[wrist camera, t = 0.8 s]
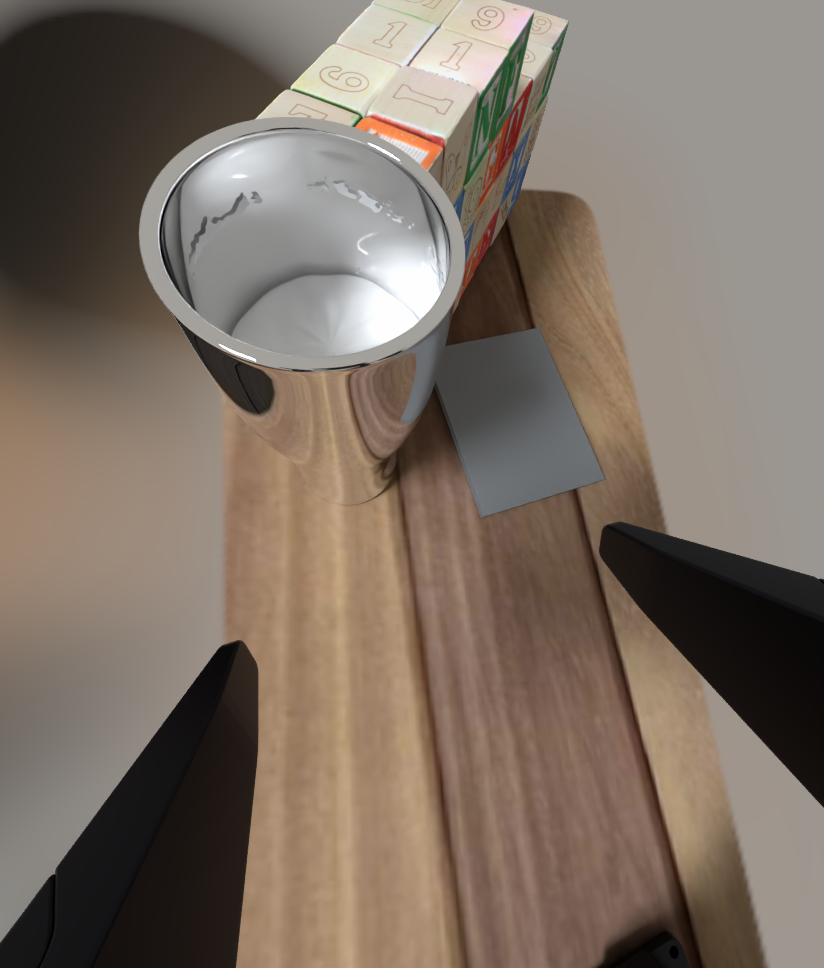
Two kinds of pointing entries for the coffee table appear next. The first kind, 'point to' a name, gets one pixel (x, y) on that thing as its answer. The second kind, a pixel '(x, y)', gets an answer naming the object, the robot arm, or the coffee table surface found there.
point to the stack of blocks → (443, 97)
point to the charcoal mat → (513, 421)
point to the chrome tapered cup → (310, 287)
